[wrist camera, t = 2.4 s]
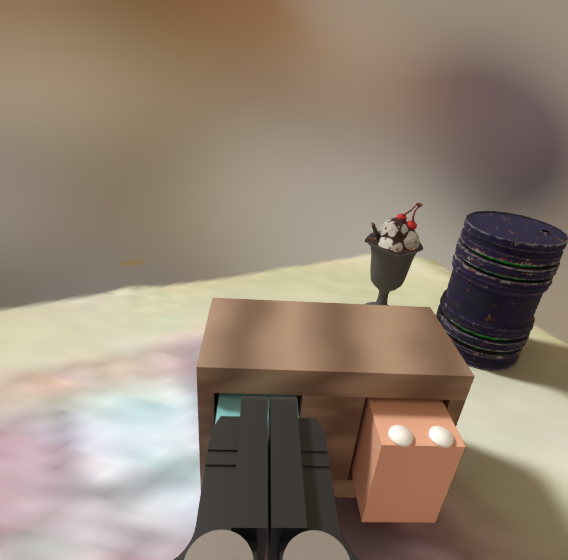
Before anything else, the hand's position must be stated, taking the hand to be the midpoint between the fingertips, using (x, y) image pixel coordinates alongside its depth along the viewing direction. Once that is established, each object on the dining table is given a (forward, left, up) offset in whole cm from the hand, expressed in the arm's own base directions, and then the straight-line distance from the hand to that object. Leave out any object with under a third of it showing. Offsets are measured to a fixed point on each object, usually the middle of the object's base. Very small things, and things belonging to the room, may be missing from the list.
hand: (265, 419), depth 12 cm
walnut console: (+5, +15, -20) cm, 25 cm away
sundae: (+16, +37, -20) cm, 45 cm away
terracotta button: (+10, +11, -17) cm, 22 cm away
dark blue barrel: (+26, +31, -20) cm, 45 cm away
